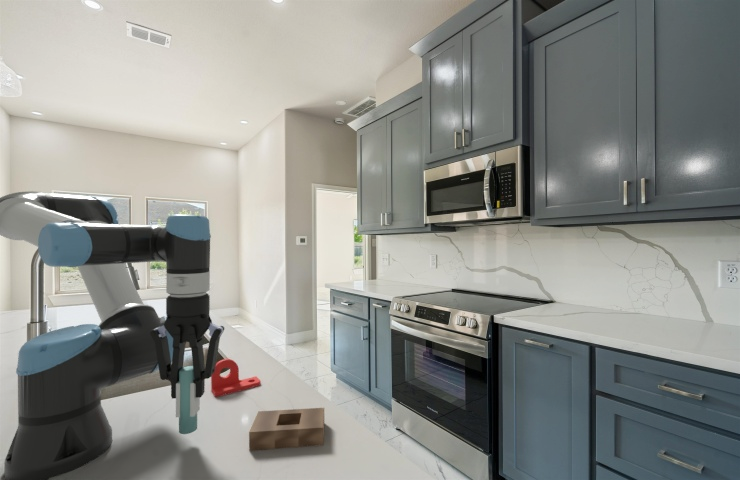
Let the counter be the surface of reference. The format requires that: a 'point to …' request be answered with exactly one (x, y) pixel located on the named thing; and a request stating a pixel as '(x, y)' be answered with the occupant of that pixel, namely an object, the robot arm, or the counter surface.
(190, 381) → the peg
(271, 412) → the hole block
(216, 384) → the bracket
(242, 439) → the counter surface
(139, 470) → the counter surface
